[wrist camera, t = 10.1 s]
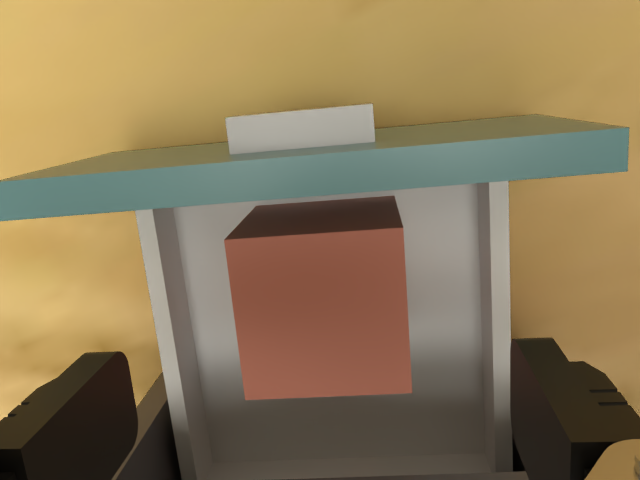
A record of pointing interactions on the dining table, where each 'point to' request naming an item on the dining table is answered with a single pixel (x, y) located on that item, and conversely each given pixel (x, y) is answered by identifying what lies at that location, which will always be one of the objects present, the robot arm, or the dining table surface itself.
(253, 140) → the drawer
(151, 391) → the housing
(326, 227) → the block
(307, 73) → the dining table surface
